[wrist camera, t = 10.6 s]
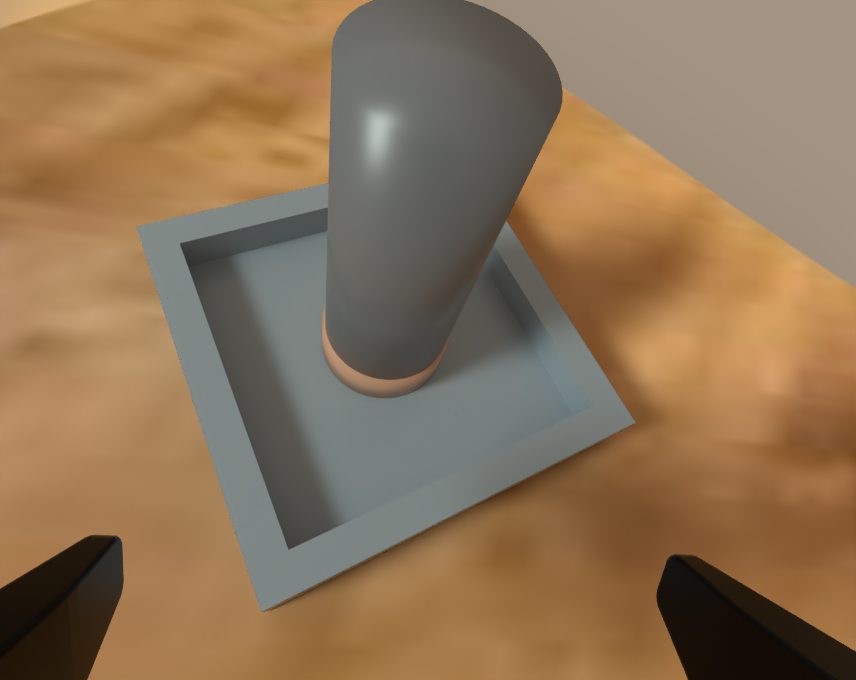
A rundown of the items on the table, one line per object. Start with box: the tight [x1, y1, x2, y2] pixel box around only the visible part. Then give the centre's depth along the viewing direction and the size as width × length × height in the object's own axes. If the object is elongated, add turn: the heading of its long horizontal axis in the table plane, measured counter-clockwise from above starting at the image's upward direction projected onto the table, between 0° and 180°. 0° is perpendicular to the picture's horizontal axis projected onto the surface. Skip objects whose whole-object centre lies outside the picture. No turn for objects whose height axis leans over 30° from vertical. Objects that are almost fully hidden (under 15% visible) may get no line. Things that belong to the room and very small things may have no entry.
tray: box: [136, 183, 636, 612], centre depth 20 cm, size 14×14×2 cm
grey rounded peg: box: [322, 0, 563, 398], centre depth 15 cm, size 5×5×12 cm
